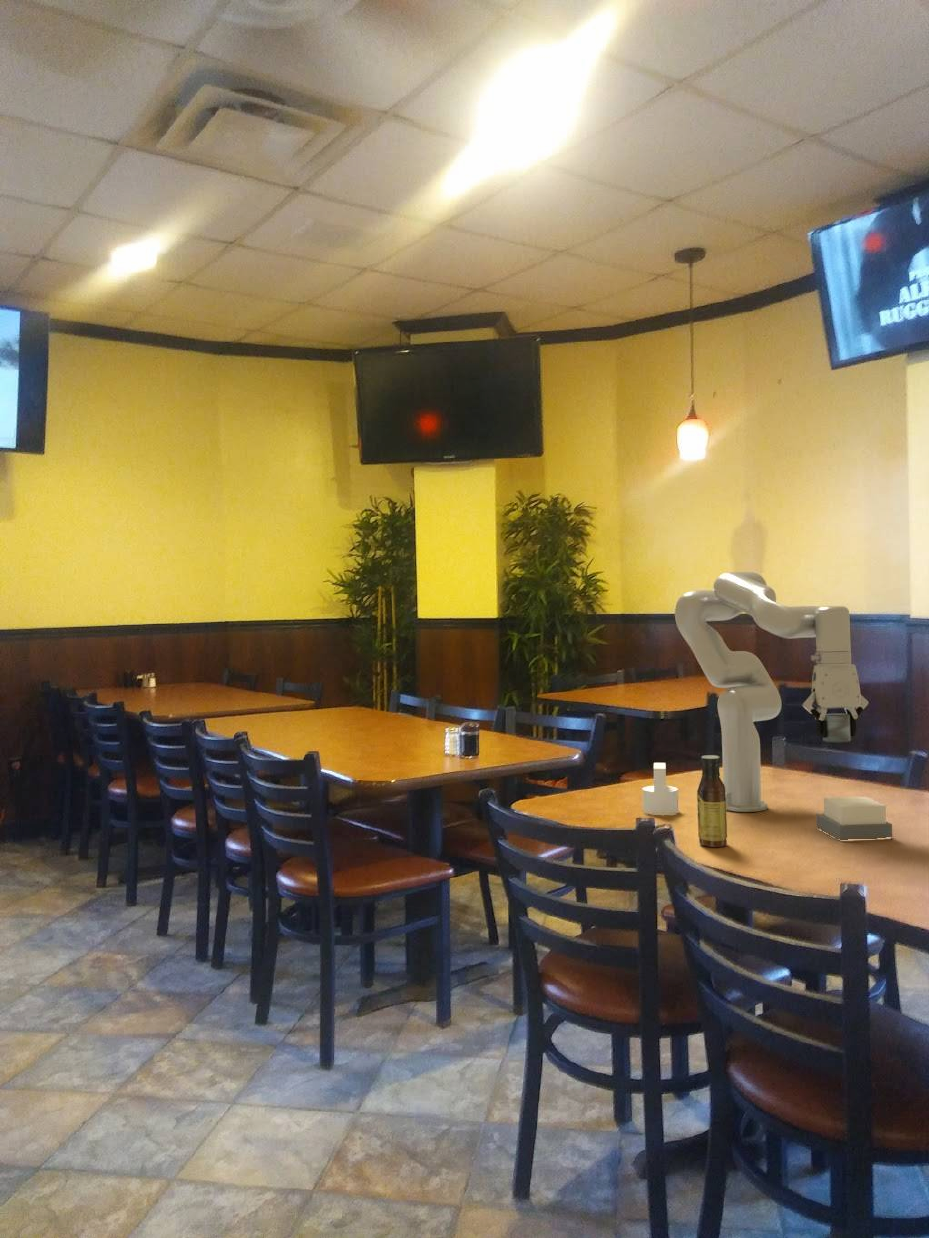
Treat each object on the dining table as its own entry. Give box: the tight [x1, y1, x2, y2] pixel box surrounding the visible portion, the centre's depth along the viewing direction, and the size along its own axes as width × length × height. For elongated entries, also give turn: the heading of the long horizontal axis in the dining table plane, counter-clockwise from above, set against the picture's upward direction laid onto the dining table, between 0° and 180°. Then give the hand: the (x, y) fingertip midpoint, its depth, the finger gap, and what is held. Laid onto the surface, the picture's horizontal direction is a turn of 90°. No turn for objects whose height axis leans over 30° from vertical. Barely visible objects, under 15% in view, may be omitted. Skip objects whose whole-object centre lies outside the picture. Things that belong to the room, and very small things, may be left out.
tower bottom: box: [816, 813, 893, 840], centre depth 220 cm, size 12×12×4 cm
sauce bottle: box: [696, 754, 728, 849], centre depth 213 cm, size 6×6×20 cm
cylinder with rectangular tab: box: [641, 762, 679, 816], centre depth 247 cm, size 9×9×12 cm
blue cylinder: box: [822, 713, 852, 743], centre depth 223 cm, size 6×6×6 cm
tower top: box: [823, 796, 887, 825], centre depth 220 cm, size 10×10×4 cm
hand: (836, 735), depth 223 cm, fingers closed on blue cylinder, 6 cm apart
